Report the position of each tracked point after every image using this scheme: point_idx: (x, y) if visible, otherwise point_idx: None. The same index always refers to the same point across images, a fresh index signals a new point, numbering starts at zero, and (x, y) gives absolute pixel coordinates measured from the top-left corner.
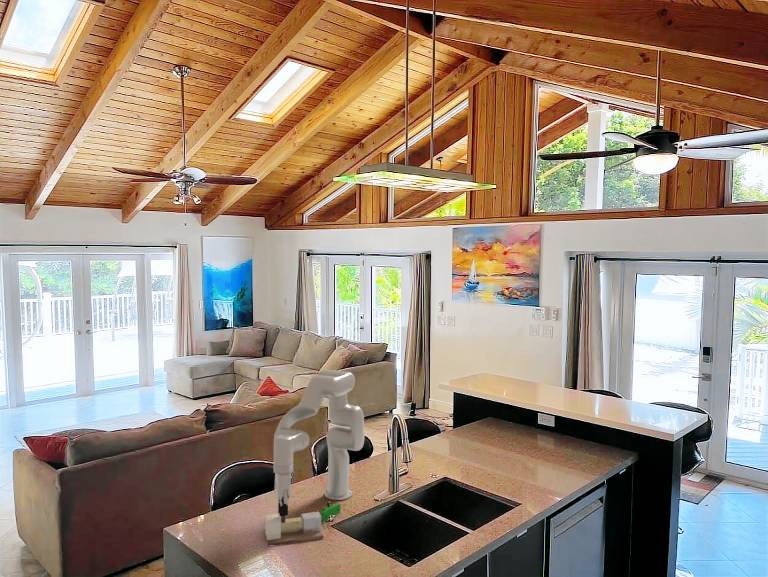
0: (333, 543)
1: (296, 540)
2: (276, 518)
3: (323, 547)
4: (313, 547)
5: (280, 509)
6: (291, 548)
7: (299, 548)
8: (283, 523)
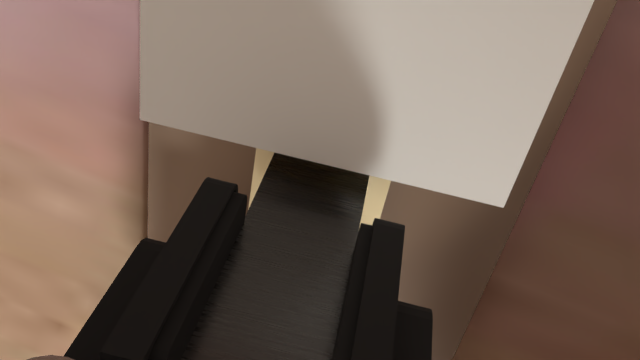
0: (60, 350)
1: (152, 149)
2: (315, 103)
3: (12, 276)
4: (27, 219)
5: (146, 292)
6: (48, 43)
7: (32, 112)
8: (255, 154)
